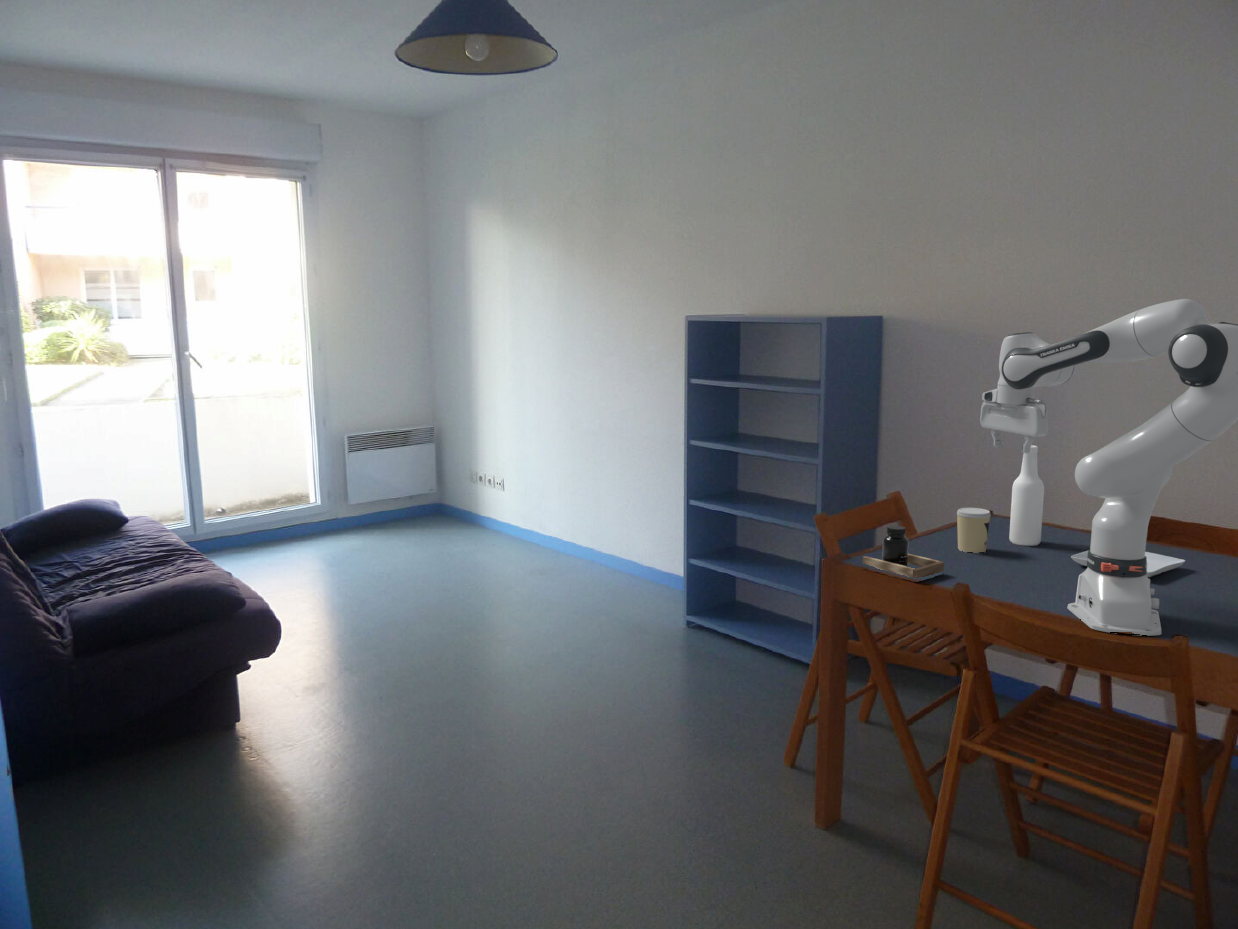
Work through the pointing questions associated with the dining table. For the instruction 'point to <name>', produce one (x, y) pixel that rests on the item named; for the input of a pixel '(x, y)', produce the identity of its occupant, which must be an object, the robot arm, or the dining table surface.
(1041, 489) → the alcohol
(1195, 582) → the dining table surface
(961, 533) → the coffee cup
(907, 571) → the wooden tray
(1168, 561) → the salad plate
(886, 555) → the supplement bottle
